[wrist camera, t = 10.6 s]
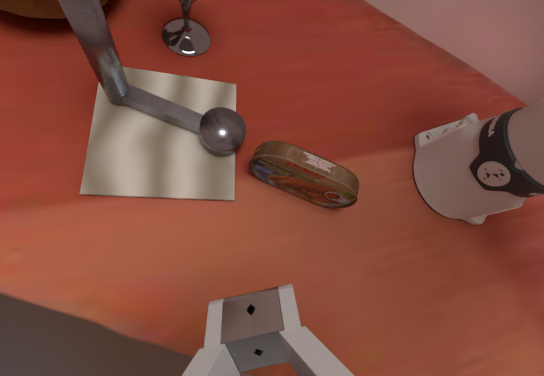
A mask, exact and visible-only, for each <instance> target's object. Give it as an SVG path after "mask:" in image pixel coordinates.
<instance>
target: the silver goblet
mask: <svg viewBox="0 0 544 376" xmlns="http://www.w3.org/2000/svg"><path fill="white" fill-rule="evenodd" d="M195 1H196V0H179V2H180V4H181V7H182V12H183V17H178V18H173V19H171V20H169V21H168V22H167V23H166V24H165V25H164V27H163V29H162V38H163V41H164V42H165V44H166V45H167V46H168V48H170V49H171V50H172V51H174V52H175V53H177V54H180V55H183V56H198V55H201V54H203V53H204V52H205V51H206V50H207V49H208V48H209V46H210V35H209V33H208V31H207V29H206V28H205V27H204V26H203V25H202V24H201V23H199V22H198V21H196V20H194V19H191V18H189V17H190V10H191V6H192V4H193V3H194V2H195Z"/></svg>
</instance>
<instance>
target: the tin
mask: <svg viewBox="0 0 544 376" xmlns="http://www.w3.org/2000/svg"><path fill="white" fill-rule="evenodd" d="M249 166H250V169H251V171H252V173H253V174H254V175H255V176H256V177H257V178H259V179H260V180H261V181H263V182H265V183H267V184H269V185H271V186H273V187H276V188H278V189H281V190H283V191H285V192H288V193H290V194H293V195H295V196H297V197H300V198H302V199H305V200H307V201H309V202H312V203H314V204H317V205H320V206H324V207H330V208H345V207H349V206H352V205H354V204H355V203H356V202H357V194H358V189H359V181H358V178H357V177H356V176H355V174H354V173H352V172H351V171H350V170H348V169H346V168H344V167H342V166H340V165H338V164H336V163H333V162H331V161H329V160H327V159H325V158H322V157H320V156H318V155H316V154H313V153H311V152H309V151H307V150H304V149H302V148H300V147H298V146H295V145H293V144H290V143H287V142H282V141H268V142H264V143H262V144H261V145H259V146H258V147H257V149H256V150H255V153H254V155H253V158H252V159H251V161H250V164H249Z"/></svg>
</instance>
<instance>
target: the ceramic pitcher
mask: <svg viewBox="0 0 544 376" xmlns="http://www.w3.org/2000/svg"><path fill="white" fill-rule="evenodd" d="M108 1H109V0H100V3H101V6H103V5H105V4H106V3H107V2H108ZM0 10H4V11H8V12H10V13H13V14H16V15H20V16H24V17H30V18H47V19H63V18H67V17H66V15H65V13H64V11H63V9H62V7H61V5H60V3H59V2H58V0H0Z"/></svg>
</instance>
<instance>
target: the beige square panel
mask: <svg viewBox="0 0 544 376" xmlns="http://www.w3.org/2000/svg"><path fill="white" fill-rule="evenodd" d="M123 69H124V72H125V75H126V78H127V81H128V84H130V85H132V86H135V87H137V88H140V89H142V90H144V91H147V92H149V93H152V94H154V95H156V96H159V97H161V98H164V99H166V100H169V101H171V102H173V103H176V104H178V105H181V106H183V107H186V108H188V109H190V110H193V111H195V112H198V113H200V114H203V115H204V114H205V113H206V112H207V111H208V110H210V109H213V108H216V107H225V108H229V109H231V110H234V111H235V112H236V84H231V83H225V82H218V81H212V80H206V79H199V78H193V77H186V76H180V75H173V74H167V73H160V72H154V71H148V70H141V69H135V68H128V67H123ZM80 194H81V195H91V196H116V197H141V198H167V199H192V200H217V201H234V194H235V153H233V154H231V155H228V156H217V155H214V154H212V153H210V152H208V151H207V150H206V149H205V148H204V147H203V145H202V144H201V141H200V138H199V134H198V133H195V132H193V131H190V130H188V129H185V128H183V127H180V126H178V125H175V124H173V123H170V122H168V121H165V120H163V119H160V118H157V117H155V116H152V115H150V114H147V113H145V112H142V111H140V110H137V109H135V108H132V107H130V106H127V105H125V104H124V105H116V104H113V103H111V102H110V101H109V100H108V99H107V97H106V95H105V93H104V91H103V89H102V87H101V85H100V83H99V84H98V90H97V96H96V102H95V108H94V113H93V119H92V125H91V131H90V137H89V143H88V149H87V155H86V160H85V166H84V172H83V178H82V184H81V190H80Z"/></svg>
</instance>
